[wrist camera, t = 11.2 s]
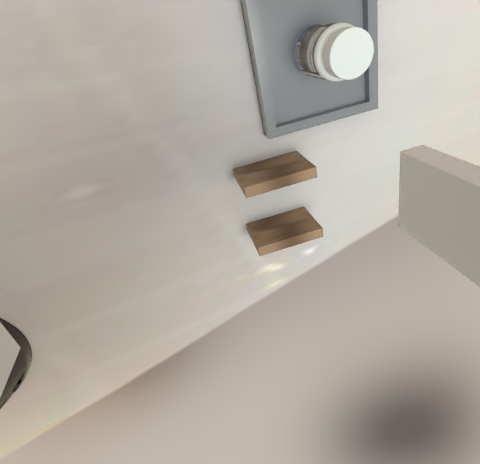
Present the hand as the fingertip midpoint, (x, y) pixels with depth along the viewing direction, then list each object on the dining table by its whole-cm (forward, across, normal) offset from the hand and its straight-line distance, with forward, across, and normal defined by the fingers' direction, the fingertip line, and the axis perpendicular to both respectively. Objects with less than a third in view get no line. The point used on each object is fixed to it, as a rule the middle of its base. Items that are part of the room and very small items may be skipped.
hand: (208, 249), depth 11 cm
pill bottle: (+29, +16, +1) cm, 33 cm away
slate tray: (+30, +16, +1) cm, 34 cm away
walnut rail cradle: (+30, +9, -14) cm, 34 cm away
